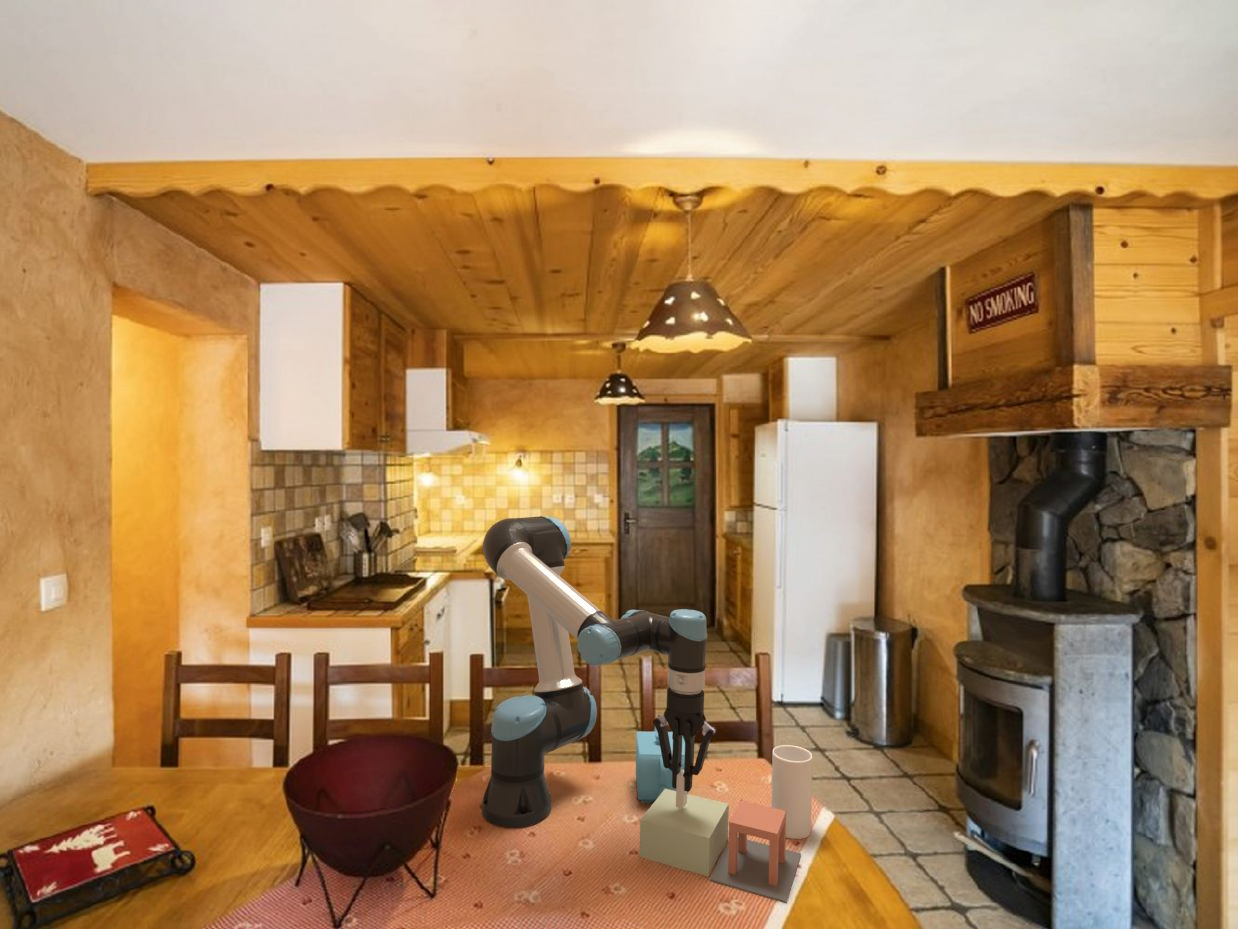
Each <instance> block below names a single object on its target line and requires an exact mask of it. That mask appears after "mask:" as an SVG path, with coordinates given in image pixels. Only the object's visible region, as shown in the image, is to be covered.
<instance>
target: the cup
mask: <svg viewBox="0 0 1238 929" xmlns="http://www.w3.org/2000/svg"><path fill="white" fill-rule="evenodd" d="M771 756H772V759H771V760H772V761H771V762H772V763H771V764H772V765H771V766H772V767H771V769H772V770H771V803H770V804H771V805H770V806H771V807H772V808H776V809H780V810H785V811H786V838H787V839H792V840H800V839H805V838H808V837H809V836H810V835H811V833H812V800H813V799H812V797H813V796H812V795H813V794H812V791H813V754H812V753H811V751H809V750H808V749H806V748H804V747H801V746H796V745H793V744H791V745H790V744H783V745H777V746H775V747H773V748H772V755H771Z"/></svg>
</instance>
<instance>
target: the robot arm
mask: <svg viewBox="0 0 1238 929" xmlns="http://www.w3.org/2000/svg"><path fill="white" fill-rule="evenodd" d="M571 539H572V538H571V535H570V532H569V531H568V529H567V527H566V525H565V524H564V522H561V521H560V520H559V519H558V518H555V517H552V516H544V515H543V516H542V515H539V516H527V517H515V518H514V517H512V518H511V517H509V518H504V519H501V520H499V521H497V522H495V523H493V525H492V526H491V527H490V528H489V529H488V530H487V532H486V534H485V535H484V538H483V542H482V552H483V556H484V559H485V561H486V563H487V565H488V567H489V568H490V569H491V571H493V572H494V573H495V574H496V575H497V576H498V577H499V578H501V579H502V580H505V581H509V580H510V581H511V583H513V584H515V586H516V587H518V588H519V589H520V590H521V591H522V592H523V593H524V594H525V595H526V597H527V601H528V609H529V617H530V624H531V632H532V639H533V644H534V645H533V646H534V653H535V660H536V666H537V671H538V683H537V684H536V686H535V687H534V689H533V690H534V695H533V694H524V695H522V696H520V695H517V696H513V697H510V698H508V699H505V700H503V701H502V702H501V703H499V704H498V705H497V706H496V707H495V708H494V711H493V713H492V722H491V725H490V726H491V727H490V732H491V755H490V756H491V757H490V758H491V759H490V761H491V763H490V777H489V780H488V783H487V786H486V789H485V792H484V794H483V797H482V802H481V813H482V817H483V818H484V819H485V821H486V822H488V823H490V824H492V825H495V826H497V827H502V828H515V829H516V828H517V829H518V828H524V827H528V826H533V825H536V824H537V823H540V822H542V821H543V820H545V819H546V818H547V817H548V816H549V814H550V813H551V811H552V796H551V792H550V788H549V785H548V782H547V779H546V775H545V755H547V754H548V753H551V752H553V751H556V750H558V749H561V748H563V747H565V746H567V745H570V744H575V743H576V742H578V741H580V740H581V739H582V738H584V737H586V736H588V735H589V734H590V733H591V732H592V730H593V728H594V727H595V724H596V721H597V716H598V709H597V702H596V700H595V697H594V696H593V695H591V691H590V689H588V688H587V687H585V686H584V683H583V680H582V679H581V678H580V677H578V676H577V675H576V673H575V667H574V661H573V660H574V659H573V654H572V646H571V642H570V641H571V639H570V635H571V636H573V637H574V638H575V639H576V640H577V641H576V642H577V644H576V646H577V651H578V653H579V654H580V657H581V659H582V660H583V661H584V662H585V664H588V665H590V666H595V667H596V666H597V667H598V666H600V665H607V664H612V663H614V662H615V661H619V660H621V659H625V658H627V657H628V658H629V657H631V656H635V655H638V654H640V653H641V654H642V653H644V652H649V651H651V652H655V653H659V654H662V655H667V687H668V688H666V707H665V708H666V709H665V710H664V713H663V714H661V715H657V716H656V717H655V718H654V719H653V720H652V723H653V725H654V728H655V727H656V729H657V732H658V737H659V743H660V748H661V754H662V759H663V765H664V767H665V768H669V769H670V770H671V771H672V787H673V788H675V789H676V807H677V808H681V809H683V808H684V806H685V805H686V803H687V792H688V793H689V792H690V791H691V790H692V788H693V777H694V775H695V776H698V775H699V774H700V772H701V771H702V770H703V767H704V762H705V760H706V756H707V753H708V750H709V749H708V748H709V745H710V743H711V739H712V737H713V736H714V735H715V733H716V732H717V728H716V726H714V725H713V726H712V725H710V724H709V723H708V722H706V721H707V719H706V716H705V711H704V709H705V690H704V689H705V685H706V684H705V682H706V654H707V653H706V652H707V639H708V632H707V630H708V629H707V617H706V615H705V614H704V613H703V612H701V611H699V610H694V609H687V608H685V609H684V608H682V609H680V608H679V609H674V610H672V611H671V612H670V614H669V616H667V615H666V616H665V615H661V614H657V613H653V612H649V611H646V610H643V609H641V610H639V609H638V610H637V609H630V610H627V611H626V612H625V614H624V615H622V616H621V617H620V618H619V619H612V618H611V617H610V616H609V615H607V614H606V613H605V612H603V611H602V610H601V609H600V608H599V607H597V606H596V605H595V604H594V603H593V602H591V601H590V600H589V599H588V598H586V597H585V596H584V595H583V594H582V593H580V592H579V591H578V590H577V589H575V587H573V586H572V585H571V584H570V583H569V582H567V581H566V580H565V579H564V578H562V576H561V574H562V572H563V571H564V569H565V568H566V565H565V564H566V563H565V559H567V557H569V554H570V551H571V548H572V540H571ZM667 725H668V726H667ZM668 727H670V730H671V732H673V734H672V739H673V753H672V752H671V747H670V741H669V736H668V732H669V731H668ZM701 728H702V732H701V733H702V735H703V736H702V739H701V742H700V745H699V749H698V752H697V755H696V759H695V739H696V734H697V733H698V732H699V731H700V730H701ZM682 737H683V738H684V742H685V762H684V770H682V769H681V770H680V768H681V767H682V765H681V761H682Z"/></svg>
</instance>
